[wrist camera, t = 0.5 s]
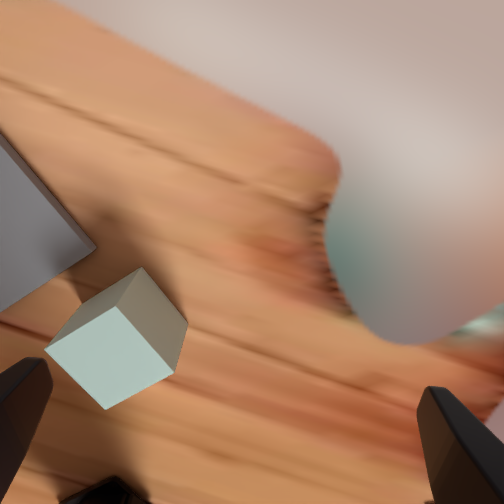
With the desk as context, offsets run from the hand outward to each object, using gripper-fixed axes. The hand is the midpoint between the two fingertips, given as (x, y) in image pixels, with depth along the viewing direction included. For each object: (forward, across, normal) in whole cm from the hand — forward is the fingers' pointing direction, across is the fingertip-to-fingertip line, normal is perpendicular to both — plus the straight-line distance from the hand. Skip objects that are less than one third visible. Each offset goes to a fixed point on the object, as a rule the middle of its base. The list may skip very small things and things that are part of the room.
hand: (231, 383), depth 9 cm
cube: (+13, +8, +9) cm, 18 cm away
